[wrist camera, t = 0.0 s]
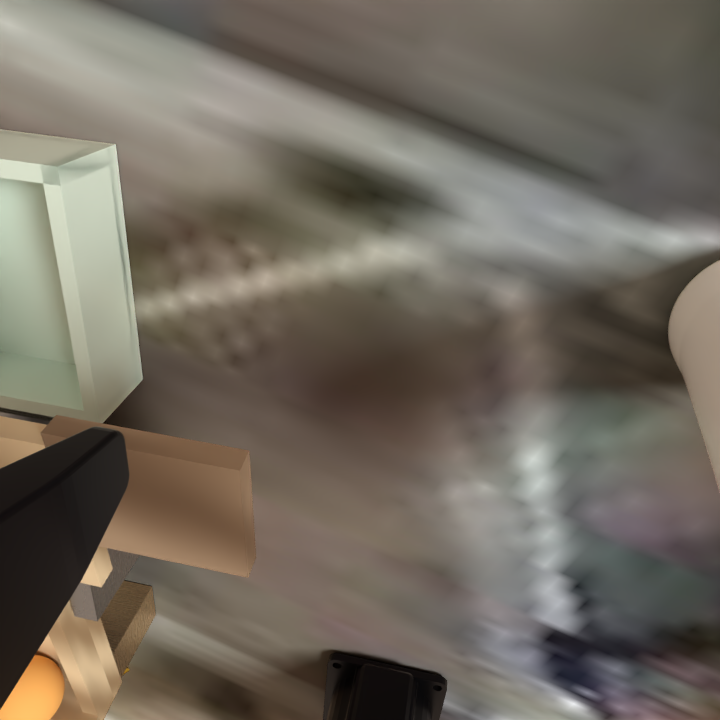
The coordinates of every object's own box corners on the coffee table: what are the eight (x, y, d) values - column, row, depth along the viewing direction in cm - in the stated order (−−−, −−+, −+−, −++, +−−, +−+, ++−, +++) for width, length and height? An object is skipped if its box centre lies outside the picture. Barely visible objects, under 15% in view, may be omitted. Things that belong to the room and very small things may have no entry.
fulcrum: (188, 621, 36) (127, 747, 30) (43, 589, 37) (-45, 704, 31) (171, 438, 29) (87, 552, 23) (-7, 404, 30) (-131, 506, 24)
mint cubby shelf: (143, 379, 28) (100, 425, 25) (1, 354, 28) (-57, 396, 25) (115, 144, 22) (57, 166, 19) (-57, 121, 23) (-138, 140, 20)
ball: (85, 680, 31) (47, 753, 28) (25, 666, 31) (-17, 736, 29) (68, 650, 29) (26, 725, 26) (4, 635, 29) (-43, 708, 27)
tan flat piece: (275, 717, 31) (258, 777, 29) (9, 654, 32) (-25, 707, 30) (262, 422, 19) (231, 486, 17) (-153, 347, 21) (-228, 398, 19)
